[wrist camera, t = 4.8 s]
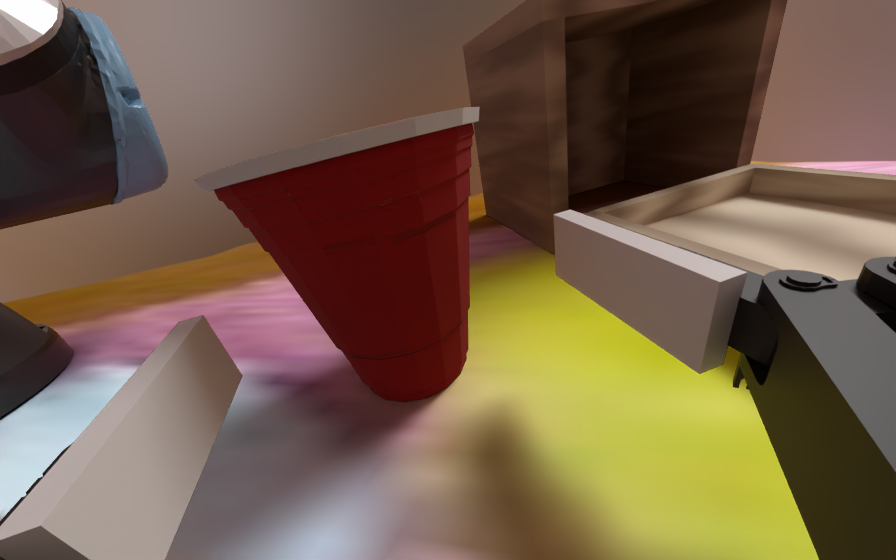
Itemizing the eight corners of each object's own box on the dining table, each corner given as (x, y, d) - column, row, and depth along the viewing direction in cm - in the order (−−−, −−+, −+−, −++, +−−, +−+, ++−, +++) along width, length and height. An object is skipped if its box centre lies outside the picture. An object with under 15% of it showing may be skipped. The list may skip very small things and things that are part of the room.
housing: (553, 254, 27) (541, -11, 19) (486, 214, 39) (462, 46, 32) (742, 194, 30) (799, -53, 22) (624, 175, 43) (634, 14, 35)
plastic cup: (436, 290, 25) (395, 120, 20) (555, 352, 17) (542, 89, 11) (295, 366, 20) (187, 165, 15) (368, 506, 12) (183, 167, 6)
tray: (1000, 509, 8) (1116, 400, 7) (562, 256, 25) (560, 206, 24) (1366, 286, 12) (1511, 172, 10) (759, 194, 29) (771, 145, 27)
